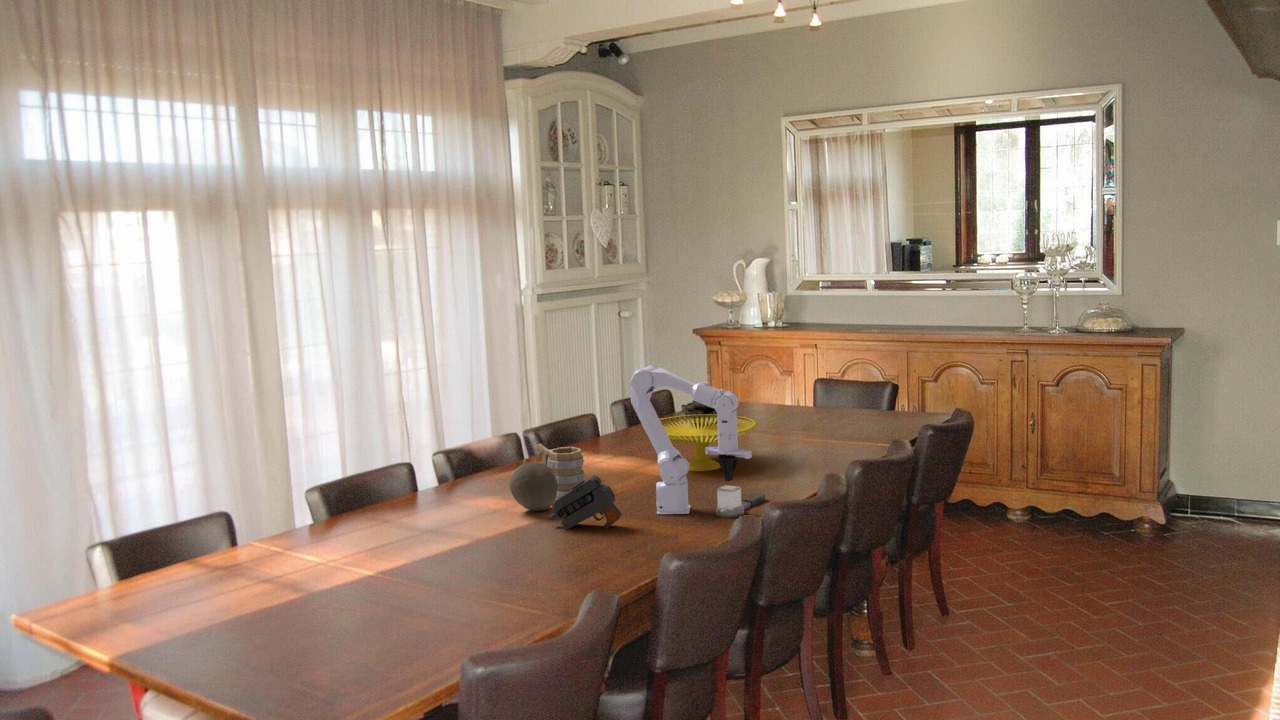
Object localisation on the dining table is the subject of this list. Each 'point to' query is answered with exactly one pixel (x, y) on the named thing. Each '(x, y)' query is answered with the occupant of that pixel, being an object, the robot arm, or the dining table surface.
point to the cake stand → (701, 437)
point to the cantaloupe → (534, 486)
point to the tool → (586, 504)
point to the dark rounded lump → (697, 413)
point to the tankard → (564, 466)
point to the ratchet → (742, 506)
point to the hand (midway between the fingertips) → (729, 480)
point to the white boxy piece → (729, 497)
